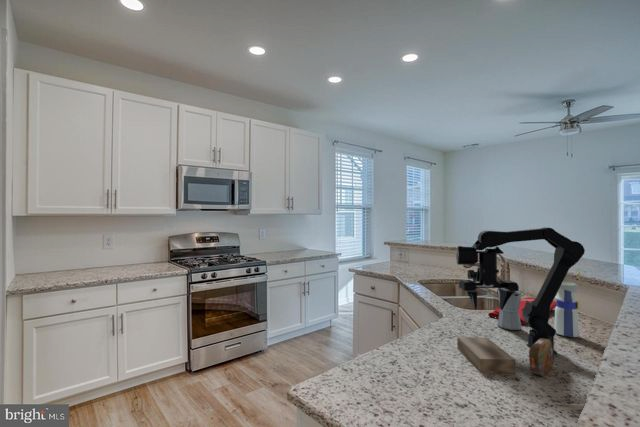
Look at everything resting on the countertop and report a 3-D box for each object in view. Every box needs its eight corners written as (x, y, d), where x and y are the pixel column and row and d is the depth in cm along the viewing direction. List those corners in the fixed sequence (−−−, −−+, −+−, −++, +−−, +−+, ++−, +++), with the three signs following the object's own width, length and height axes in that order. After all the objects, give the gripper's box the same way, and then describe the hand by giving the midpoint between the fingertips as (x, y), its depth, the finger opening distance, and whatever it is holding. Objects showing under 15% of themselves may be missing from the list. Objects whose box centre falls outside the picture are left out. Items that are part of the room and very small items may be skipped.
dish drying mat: (487, 316, 149) (487, 308, 149) (524, 302, 173) (524, 295, 173) (525, 326, 136) (525, 317, 136) (559, 309, 161) (559, 301, 161)
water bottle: (577, 331, 128) (576, 267, 128) (583, 338, 120) (582, 271, 121) (551, 328, 132) (551, 266, 132) (555, 334, 124) (555, 269, 124)
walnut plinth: (487, 349, 111) (487, 337, 111) (515, 373, 94) (515, 359, 94) (457, 348, 111) (457, 337, 111) (480, 372, 94) (480, 358, 94)
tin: (540, 380, 90) (539, 350, 90) (527, 376, 92) (526, 346, 92) (555, 364, 100) (555, 336, 100) (543, 361, 102) (543, 334, 102)
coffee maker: (529, 332, 127) (529, 286, 127) (507, 332, 127) (506, 286, 127) (508, 320, 142) (508, 278, 142) (488, 319, 142) (488, 278, 142)
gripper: (502, 262, 124) (502, 303, 124) (453, 262, 125) (453, 303, 125) (519, 267, 113) (519, 312, 113) (465, 267, 114) (465, 311, 114)
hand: (488, 309), depth 116 cm, fingers open, 9 cm apart
